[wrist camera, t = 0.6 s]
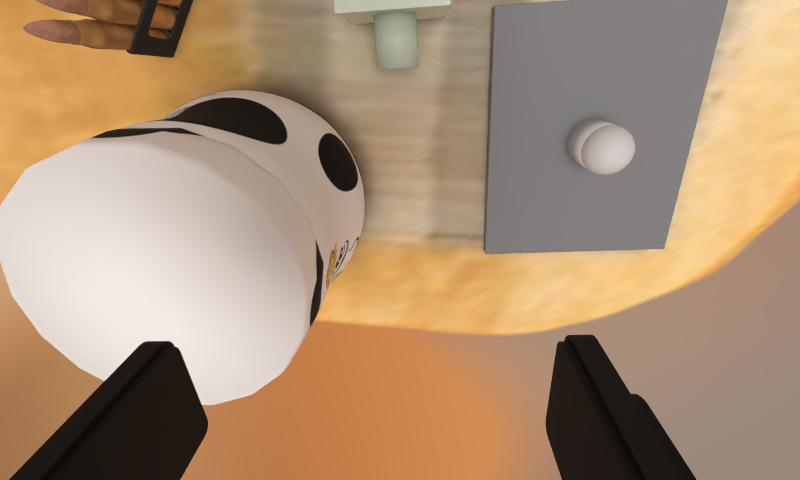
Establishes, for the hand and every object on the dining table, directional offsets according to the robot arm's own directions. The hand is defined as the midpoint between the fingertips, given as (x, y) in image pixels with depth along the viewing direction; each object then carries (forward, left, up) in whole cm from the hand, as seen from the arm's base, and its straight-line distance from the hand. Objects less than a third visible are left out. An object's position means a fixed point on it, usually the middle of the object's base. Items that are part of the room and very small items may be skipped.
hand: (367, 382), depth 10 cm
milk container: (+3, -12, -27) cm, 29 cm away
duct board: (0, +15, -26) cm, 30 cm away
